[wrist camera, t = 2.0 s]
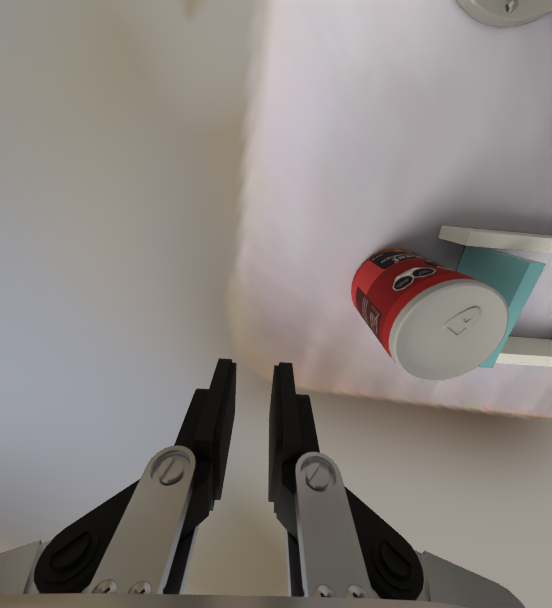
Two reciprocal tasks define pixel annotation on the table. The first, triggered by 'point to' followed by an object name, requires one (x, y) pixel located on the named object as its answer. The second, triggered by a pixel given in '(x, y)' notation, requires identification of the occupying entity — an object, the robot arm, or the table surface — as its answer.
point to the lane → (514, 347)
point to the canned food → (429, 314)
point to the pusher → (502, 281)
